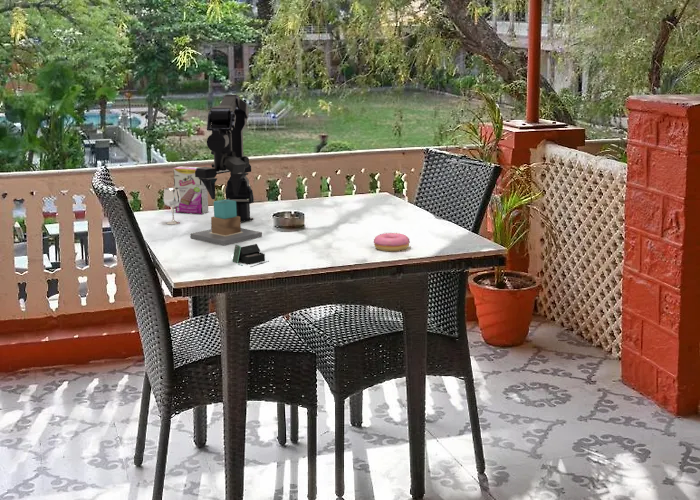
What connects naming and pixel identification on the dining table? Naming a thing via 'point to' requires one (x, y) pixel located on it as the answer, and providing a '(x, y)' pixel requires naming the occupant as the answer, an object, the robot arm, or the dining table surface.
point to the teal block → (225, 209)
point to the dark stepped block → (248, 255)
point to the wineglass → (172, 201)
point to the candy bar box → (190, 191)
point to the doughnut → (391, 242)
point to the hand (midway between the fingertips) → (224, 197)
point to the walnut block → (226, 225)
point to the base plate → (226, 236)
